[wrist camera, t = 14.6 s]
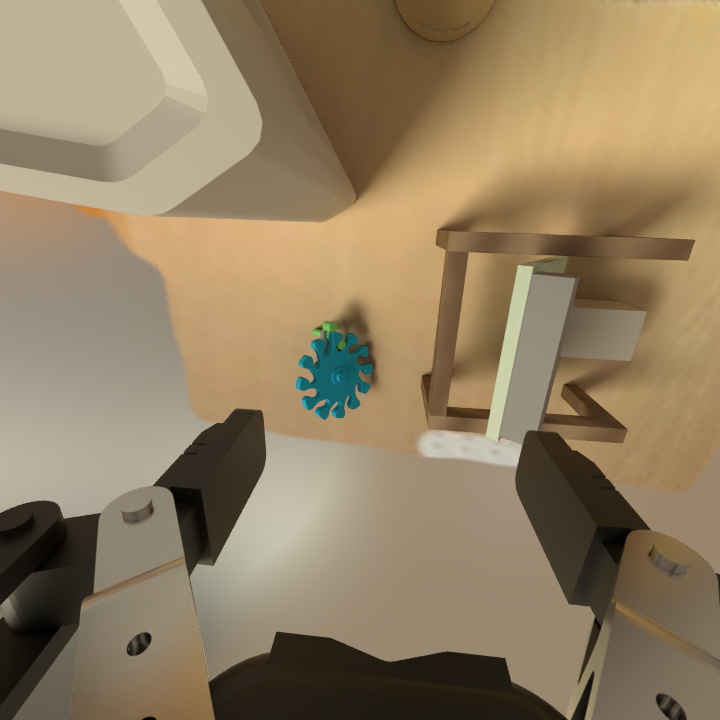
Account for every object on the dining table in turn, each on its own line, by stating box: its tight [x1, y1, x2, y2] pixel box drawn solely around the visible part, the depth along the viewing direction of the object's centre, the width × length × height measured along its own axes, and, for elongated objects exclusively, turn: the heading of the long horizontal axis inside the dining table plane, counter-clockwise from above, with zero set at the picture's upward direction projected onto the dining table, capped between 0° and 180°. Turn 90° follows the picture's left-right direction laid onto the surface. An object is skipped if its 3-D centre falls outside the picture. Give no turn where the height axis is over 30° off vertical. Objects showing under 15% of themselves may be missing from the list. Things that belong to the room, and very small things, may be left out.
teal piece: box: [296, 321, 373, 420], centre depth 41 cm, size 11×6×10 cm
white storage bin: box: [0, 0, 357, 222], centre depth 22 cm, size 19×15×28 cm
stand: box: [421, 230, 695, 443], centre depth 35 cm, size 18×18×10 cm
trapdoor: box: [485, 256, 581, 445], centre depth 31 cm, size 14×14×4 cm
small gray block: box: [560, 299, 647, 361], centre depth 36 cm, size 5×5×7 cm
